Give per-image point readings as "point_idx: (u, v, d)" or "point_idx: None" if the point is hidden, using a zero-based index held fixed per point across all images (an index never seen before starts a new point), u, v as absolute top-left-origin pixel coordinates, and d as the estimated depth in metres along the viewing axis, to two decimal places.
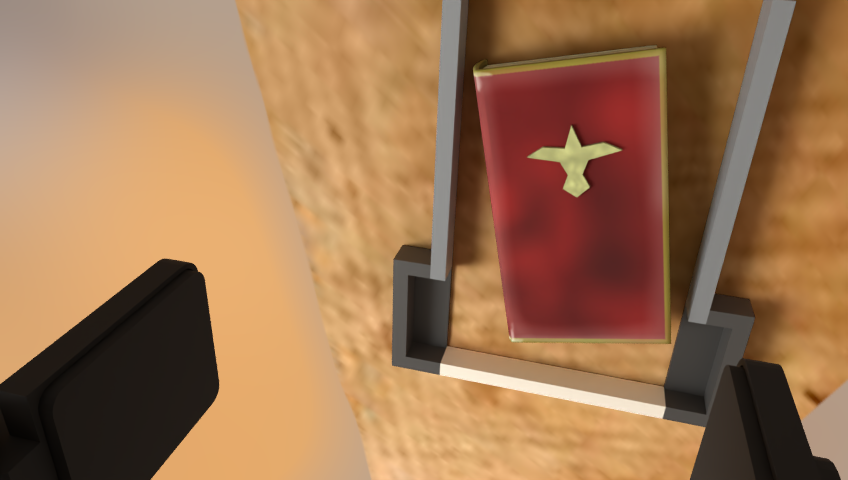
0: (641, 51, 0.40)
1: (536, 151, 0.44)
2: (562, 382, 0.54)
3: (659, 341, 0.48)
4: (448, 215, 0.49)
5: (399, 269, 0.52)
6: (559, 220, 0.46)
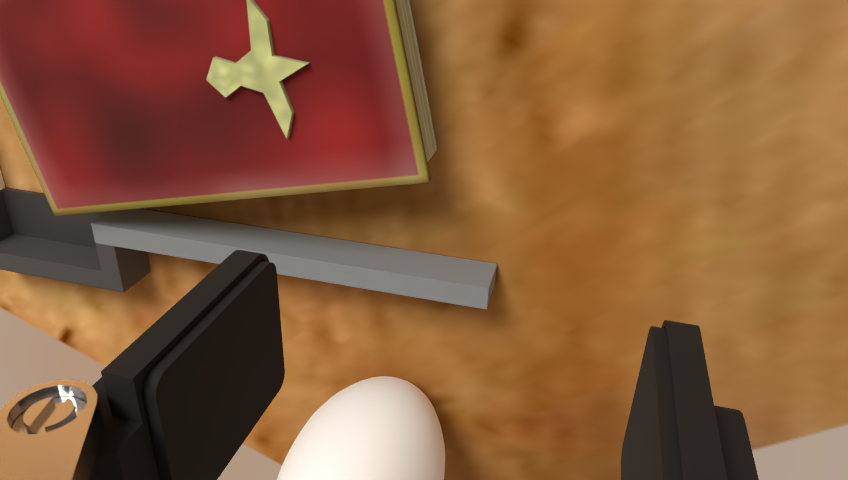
0: (422, 152, 0.28)
1: (260, 10, 0.27)
2: None
3: (51, 202, 0.35)
4: None
5: None
6: (167, 54, 0.29)
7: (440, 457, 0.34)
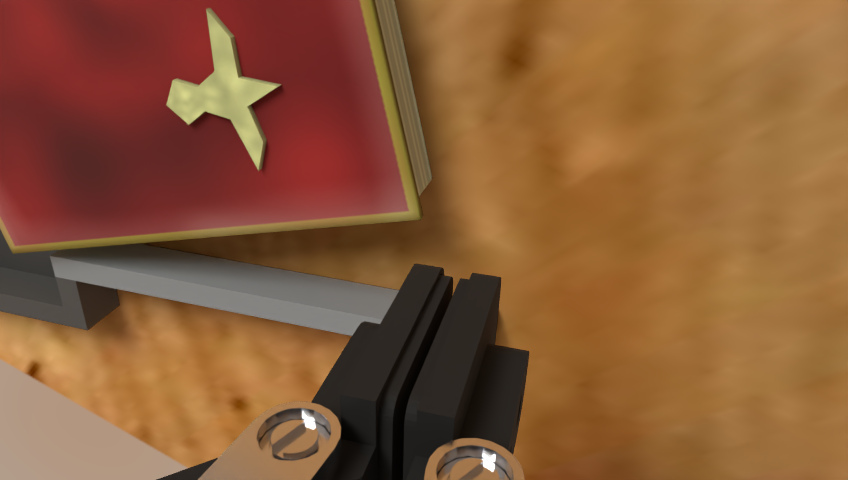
0: (412, 185, 0.25)
1: (222, 25, 0.24)
2: None
3: (8, 238, 0.32)
4: None
5: None
6: (123, 76, 0.26)
7: None
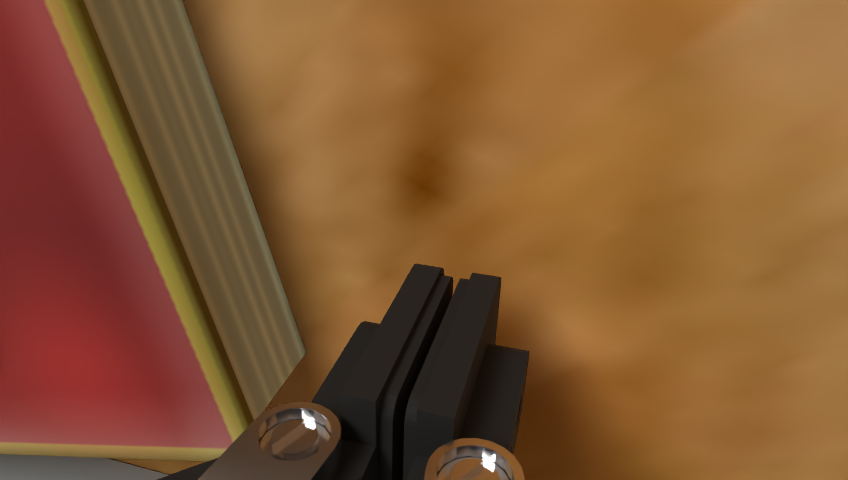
0: (236, 409, 0.14)
1: None
2: None
3: None
4: None
5: None
6: None
7: None
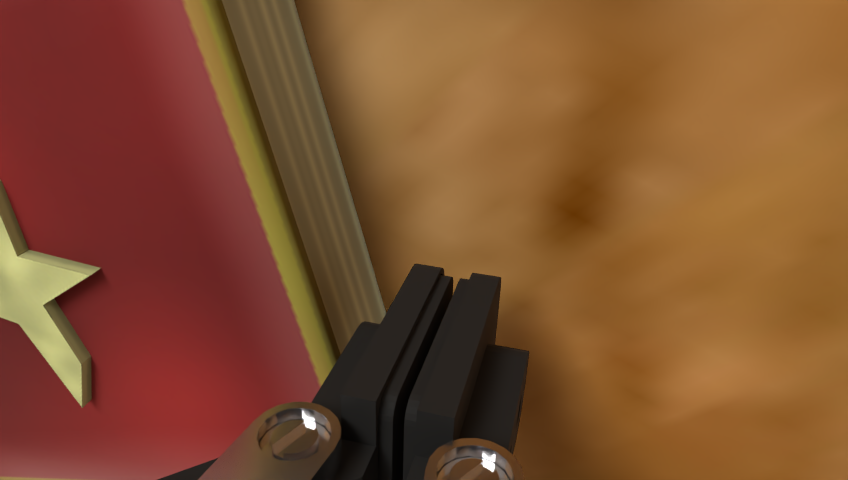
0: None
1: None
2: None
3: None
4: None
5: None
6: None
7: None
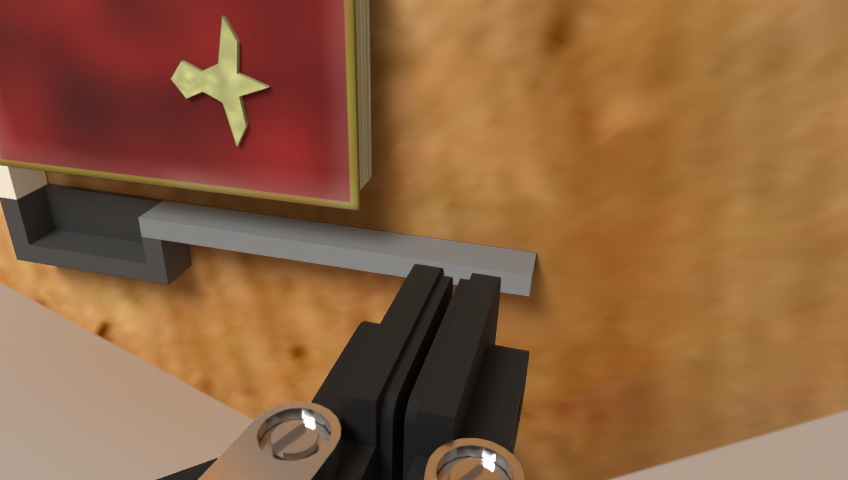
0: (357, 183, 0.32)
1: (232, 31, 0.30)
2: None
3: None
4: None
5: None
6: (137, 47, 0.31)
7: None
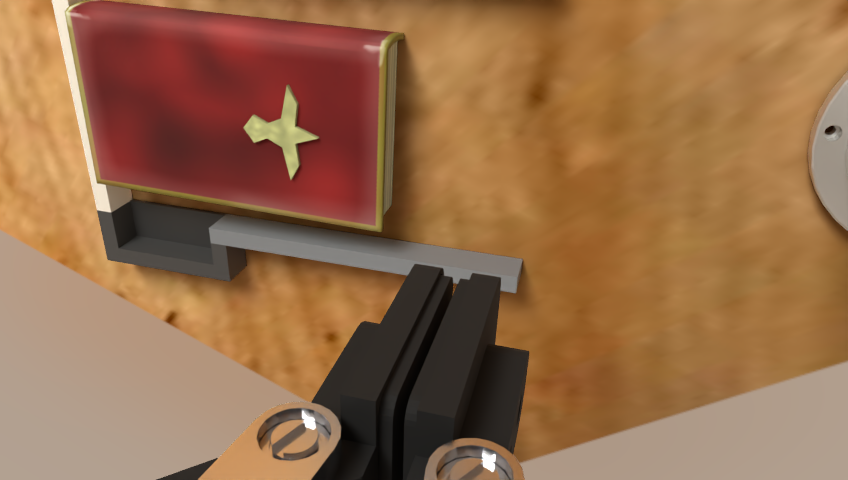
0: (381, 212, 0.42)
1: (293, 96, 0.40)
2: None
3: (97, 173, 0.46)
4: None
5: None
6: (218, 102, 0.41)
7: None
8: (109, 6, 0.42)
